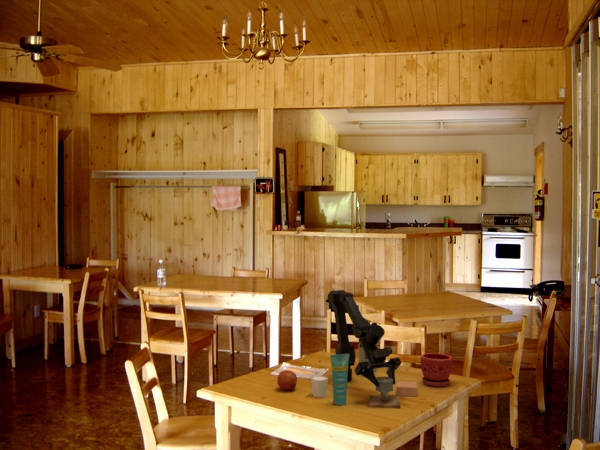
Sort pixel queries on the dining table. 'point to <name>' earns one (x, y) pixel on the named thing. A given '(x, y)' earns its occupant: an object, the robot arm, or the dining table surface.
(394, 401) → the square base plate
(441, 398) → the dining table surface
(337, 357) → the tube
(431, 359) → the plant pot
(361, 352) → the travel mug
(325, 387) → the shot glass
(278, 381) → the apple
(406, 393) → the stand
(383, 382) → the cap
